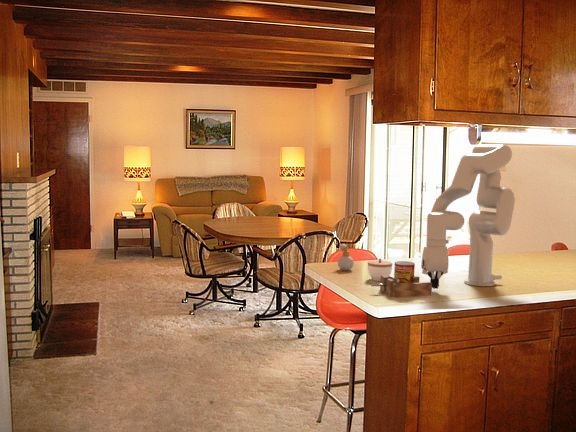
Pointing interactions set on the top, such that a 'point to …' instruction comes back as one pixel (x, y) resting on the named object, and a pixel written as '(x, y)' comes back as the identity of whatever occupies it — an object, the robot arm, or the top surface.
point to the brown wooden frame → (405, 288)
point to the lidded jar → (379, 269)
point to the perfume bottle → (345, 259)
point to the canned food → (404, 271)
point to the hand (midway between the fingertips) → (434, 287)
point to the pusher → (388, 278)
